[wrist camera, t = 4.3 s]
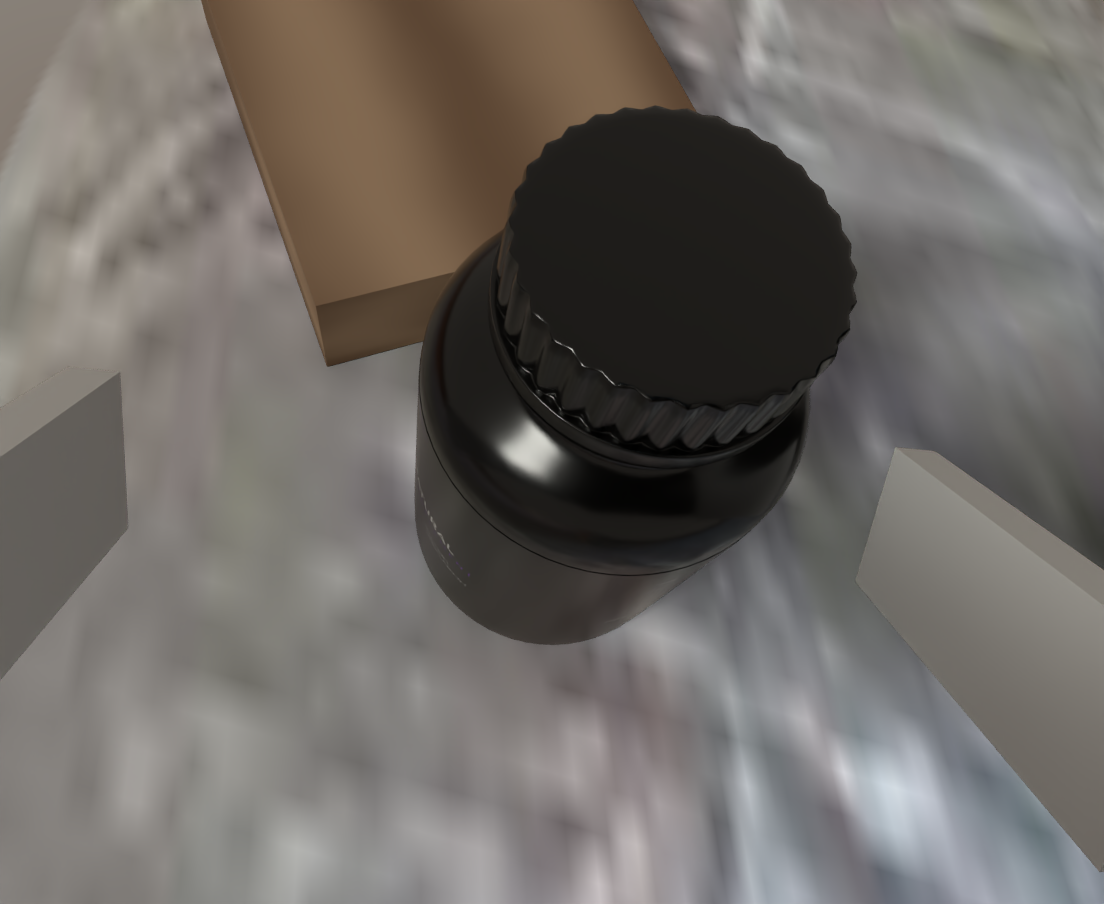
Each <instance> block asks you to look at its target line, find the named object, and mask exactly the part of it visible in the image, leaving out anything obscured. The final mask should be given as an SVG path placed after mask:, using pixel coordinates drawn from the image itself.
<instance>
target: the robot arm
mask: <svg viewBox="0 0 1104 904" xmlns="http://www.w3.org/2000/svg"><path fill="white" fill-rule="evenodd" d="M127 529H128V511H127V492H126V473H125V454H124V435H123V416H122V397H121V378H120V372H119V371H109V370H99V369H89V368H79V367H67V368H65V369H64V370H62V371H60V372H59V373H57V374H55V375H54V376H52V377H50V378H49V379H47V380H45V381H44V382H42V383H40V384H39V385H37V386H36V387H34V388H32V389H31V390H29V391H27V392H26V393H24V394H22V395H21V396H19V397H17V398H16V399H14V400H13V401H11V402H9V403H8V404H6V405H4V406H3V407H1V408H0V680H1V679H2V678H3V676H4V675H5V674H6V673H7V672H8V670H9V669H10V668H11V667H12V666H13V664H14V663H15V662H16V661H17V660H18V659H19V657H20V656H21V655H22V654H23V653H24V651H25V650H26V649H27V648H28V647H29V645H30V644H31V643H32V642H33V641H34V639H35V638H36V637H37V636H38V635H39V634H40V632H41V631H42V630H43V629H44V628H45V626H46V625H47V624H48V623H49V622H50V620H51V619H52V618H53V617H54V616H55V615H56V613H57V612H58V611H59V610H60V609H61V607H62V606H63V605H64V604H65V603H66V601H67V600H68V599H69V598H70V597H71V595H72V594H73V593H74V592H75V591H76V590H77V588H78V587H79V586H80V585H81V584H82V582H83V581H84V580H85V579H86V578H87V576H88V575H89V574H90V573H91V572H92V571H93V569H94V568H95V567H96V566H97V565H98V563H99V562H100V561H101V560H102V559H103V557H104V556H105V555H106V554H107V553H108V551H109V550H110V549H111V548H112V547H113V546H114V544H115V543H116V542H117V541H118V540H119V538H120V537H121V536H122V535H123V534H124V532H125V531H126V530H127ZM855 582H856V583H857V585H858V586H859V587H860V588H861V589H862V590H863V592H864V593H865V594H866V595H867V596H868V598H869V599H870V600H871V601H872V602H873V604H874V605H875V606H876V607H877V608H878V609H879V611H880V612H881V613H882V614H883V615H884V617H885V618H886V619H887V620H888V621H889V623H890V624H891V625H892V626H893V627H894V628H895V630H896V631H897V632H898V633H899V634H900V636H901V637H902V638H903V639H904V640H905V642H906V643H907V644H908V645H909V646H910V647H911V649H912V650H913V651H914V652H915V653H916V655H917V656H918V657H919V658H920V659H921V661H922V662H923V663H924V664H925V665H926V666H927V668H928V669H929V670H930V671H931V672H932V674H933V675H934V676H935V677H936V678H937V680H938V681H939V682H940V683H941V684H942V685H943V687H944V688H945V689H946V690H947V691H948V693H949V694H950V695H951V696H952V697H953V699H954V700H955V701H956V702H957V703H958V704H959V706H960V707H961V708H962V709H963V710H964V712H965V713H966V714H967V715H968V716H969V718H970V719H971V720H972V721H973V722H974V723H975V725H976V726H977V727H978V728H979V729H980V731H981V732H982V733H983V734H984V735H985V737H986V738H987V739H988V740H989V741H990V742H991V744H992V745H993V746H994V747H995V748H996V750H997V751H998V752H999V753H1000V754H1001V756H1002V757H1003V758H1004V759H1005V760H1006V761H1007V763H1008V764H1009V765H1010V766H1011V767H1012V769H1013V770H1014V771H1015V772H1016V773H1017V775H1018V776H1019V777H1020V778H1021V779H1022V780H1023V782H1024V783H1025V784H1026V785H1027V786H1028V788H1029V789H1030V790H1031V791H1032V792H1033V794H1034V795H1035V796H1036V797H1037V798H1038V799H1039V801H1040V802H1041V803H1042V804H1043V805H1044V807H1045V808H1046V809H1047V810H1048V811H1049V813H1050V814H1051V815H1052V816H1053V817H1054V818H1055V820H1056V821H1057V822H1058V823H1059V824H1060V826H1061V827H1062V828H1063V829H1064V830H1065V832H1066V833H1067V834H1068V835H1069V836H1070V837H1071V839H1072V840H1073V841H1074V842H1075V843H1076V845H1077V846H1078V847H1079V848H1080V849H1081V850H1082V852H1083V853H1084V854H1085V855H1086V856H1087V858H1088V859H1089V860H1090V861H1091V862H1092V864H1093V865H1094V866H1095V867H1096V868H1097V869H1098V871H1099V872H1104V570H1103V569H1101V568H1100V567H1099V566H1097V565H1096V564H1094V563H1093V562H1092V561H1090V560H1089V559H1087V558H1086V557H1084V556H1083V555H1082V554H1080V553H1079V552H1077V551H1076V550H1074V549H1073V548H1072V547H1070V546H1069V545H1067V544H1066V543H1065V542H1063V541H1062V540H1060V539H1059V538H1057V537H1056V536H1055V535H1053V534H1052V533H1050V532H1049V531H1048V530H1046V529H1045V528H1043V527H1042V526H1040V525H1039V524H1038V523H1036V522H1035V521H1033V520H1032V519H1030V518H1029V517H1028V516H1026V515H1025V514H1023V513H1022V512H1021V511H1019V510H1018V509H1016V508H1015V507H1013V506H1012V505H1011V504H1009V503H1008V502H1006V501H1005V500H1003V499H1002V498H1001V497H999V496H998V495H996V494H995V493H994V492H992V491H991V490H989V489H988V488H986V487H985V486H984V485H982V484H981V483H979V482H978V481H977V480H975V479H974V478H972V477H971V476H969V475H968V474H967V473H965V472H964V471H962V470H961V469H959V468H958V467H957V466H955V465H954V464H952V463H951V462H950V461H948V460H947V459H945V458H944V457H942V456H941V455H940V454H938V453H937V452H935V451H928V450H918V449H907V448H897V447H895V450H894V453H893V457H892V460H891V463H890V467H889V470H888V473H887V477H886V480H885V483H884V487H883V490H882V493H881V497H880V500H879V503H878V507H877V510H876V513H875V517H874V520H873V523H872V527H871V530H870V533H869V537H868V540H867V543H866V547H865V550H864V553H863V557H862V560H861V563H860V567H859V570H858V573H857V577H856V580H855Z"/></svg>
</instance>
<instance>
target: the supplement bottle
mask: <svg viewBox="0 0 1104 904" xmlns="http://www.w3.org/2000/svg"><path fill="white" fill-rule="evenodd" d="M850 256H851V243H850V241H849V240H848V238H847V236H846V235H845V234H844V232H843V231H842V227H841V219H840V216H839V214H838V213H837V212H836V211H835V210H834V209H833V208H832V207H831V206H830V205H829V204H828V201H827V198H826V195H825V192H824V190H823V189H822V188H821V187H820V186H818V185H817V184H816V183H814V182H813V181H812V180H810V178H809V177H808V175H807V173H806V171H805V170H804V168H803V167H802V166H801V165H800V164H798V163H796V162H794V161H793V160H791V159H789V158H787V157H786V156H785V155H784V154H783V152H782V151H781V150H780V149H779V148H778V146H776V145H774V144H771V143H769V142H766V141H763V140H761V139H760V138H759V137H758V136H756V135H755V134H754V133H753V132H752V131H751V130H749V129H747V128H743V127H738V126H733V125H731V124H730V123H728V122H727V121H725V120H724V119H722V118H720V117H719V116H706V115H701V114H699V113H696V112H695V111H692V110H690V109H688V108H687V109H676V110H671V109H667V108H664V107H661V106H657V105H655V106H651V107H647V108H644V109H636V108H628V107H624V108H622V109H620V110H618V111H616V112H615V113H613V114H595V115H594V116H593V117H591V118H590V119H589V120H588V121H587V122H586V123H584V124H580V125H573V126H569V127H568V128H567V129H566V131H565V132H564V134H563V135H562V137H561V138H559V139H556V140H553V141H550V142H548V143H546V144H545V146H544V148H543V150H542V152H541V155H540V157H539V158H537V159H535V160H534V161H532V162H531V163H530V164H528V165H527V167H526V169H525V171H524V173H523V177H522V182H521V184H520V185H519V186H518V188H517V189H516V190H515V191H514V193H513V195H512V197H511V200H510V204H509V209H508V215H507V220H506V225H505V227H504V229H503V230H501V231H500V232H498V233H497V234H495V235H494V236H492V237H491V238H490V239H488V240H487V241H485V242H484V243H483V244H482V245H480V246H479V247H478V248H477V249H476V250H475V251H473V252H472V253H471V254H470V255H469V256H468V257H467V258H466V259H465V261H464V262H463V263H462V264H461V265H460V266H459V267H458V268H457V270H456V271H455V272H454V274H453V275H452V276H451V278H450V279H449V280H448V282H447V283H446V285H445V287H444V289H443V290H442V292H441V294H440V295H439V297H438V299H437V301H436V303H435V306H434V308H433V310H432V312H431V315H430V318H429V321H428V324H427V328H426V331H425V336H424V341H423V346H422V352H421V358H420V369H419V382H418V410H417V440H416V469H415V521H416V529H417V535H418V539H419V543H420V547H421V550H422V553H423V556H424V558H425V561H426V563H427V565H428V567H429V570H430V572H431V573H432V575H433V577H434V578H435V580H436V582H437V584H438V585H439V586H440V588H441V589H442V590H443V592H444V593H445V594H446V595H447V597H448V598H449V599H450V600H451V601H452V602H453V603H454V604H455V605H456V606H457V607H458V608H459V609H460V610H461V611H463V612H464V613H465V614H466V615H467V616H469V617H470V618H472V619H473V620H474V621H476V622H477V623H479V624H481V625H482V626H484V627H486V628H487V629H489V630H491V631H494V632H496V633H498V634H500V635H503V636H506V637H508V638H511V639H514V640H519V641H523V642H527V643H534V644H544V645H560V644H570V643H576V642H582V641H585V640H589V639H592V638H596V637H598V636H601V635H603V634H606V633H608V632H610V631H612V630H614V629H616V628H618V627H620V626H621V625H623V624H624V623H626V622H628V621H629V620H631V619H632V618H634V617H635V616H637V615H638V614H640V613H641V612H643V611H644V610H645V609H647V608H648V607H649V606H651V605H652V604H653V603H655V602H656V601H658V600H659V599H660V598H662V597H663V596H664V595H666V594H667V593H668V592H670V591H671V590H673V589H674V588H675V587H677V586H678V585H679V584H681V583H682V582H683V581H685V580H686V579H688V578H689V577H690V576H692V575H693V574H694V573H696V572H697V571H698V570H700V569H701V568H702V567H704V566H705V565H707V564H708V563H709V562H711V561H712V560H713V559H715V558H716V557H717V556H719V555H720V554H722V553H723V552H724V551H726V550H727V549H728V548H730V547H731V546H732V545H734V544H735V543H736V542H737V541H739V540H740V539H741V538H742V537H743V536H745V535H746V534H747V533H748V532H750V531H751V530H752V529H753V528H754V527H755V526H756V525H757V524H758V523H759V522H760V521H761V520H762V519H763V518H764V517H765V516H766V515H767V514H768V513H769V512H770V511H771V510H772V508H773V507H774V506H775V504H776V503H777V502H778V500H779V499H780V498H781V496H782V495H783V493H784V492H785V490H786V488H787V487H788V485H789V483H790V482H791V480H792V478H793V475H794V473H795V471H796V469H797V467H798V464H799V462H800V459H801V456H802V453H803V450H804V447H805V442H806V438H807V433H808V427H809V418H810V386H811V385H812V384H813V382H814V381H815V380H816V379H817V378H818V377H819V376H820V375H821V374H822V373H823V372H824V371H825V370H826V369H827V368H828V367H829V365H830V364H831V363H832V362H833V360H834V359H835V357H836V354H837V350H838V345H839V344H840V343H841V342H842V341H843V340H844V339H845V337H846V336H847V334H848V333H849V331H850V320H849V314H850V313H851V311H852V310H853V308H854V307H855V305H856V303H857V300H856V295H855V292H854V289H853V284H854V282H855V279H856V276H857V271H856V269H855V266H854V265H853V263H852V261H851V258H850Z"/></svg>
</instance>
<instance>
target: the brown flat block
mask: <svg viewBox="0 0 1104 904" xmlns="http://www.w3.org/2000/svg"><path fill="white" fill-rule="evenodd" d="M201 1H202V5H203V9H204V13H205V16H206V20H207V23H208V26H209V29H210V32H211V35H212V38H213V40H214V43H215V46H216V49H217V52H218V55H219V58H220V60H221V63H222V66H223V69H224V72H225V75H226V78H227V81H228V83H229V86H230V89H231V92H232V95H233V98H234V101H235V104H236V106H237V109H238V112H239V115H240V118H241V121H242V124H243V126H244V129H245V132H246V135H247V138H248V141H249V144H250V147H251V149H252V152H253V155H254V158H255V161H256V164H257V167H258V170H259V172H260V175H261V178H262V181H263V184H264V187H265V190H266V192H267V195H268V198H269V201H270V204H271V207H272V210H273V213H274V215H275V218H276V221H277V224H278V227H279V230H280V233H281V236H282V238H283V241H284V244H285V247H286V250H287V253H288V256H289V258H290V261H291V264H292V267H293V270H294V273H295V276H296V279H297V281H298V284H299V287H300V290H301V293H302V296H303V299H304V302H305V304H306V307H307V310H308V313H309V316H310V319H311V322H312V325H313V327H314V330H315V333H316V336H317V339H318V342H319V345H320V347H321V350H322V353H323V356H324V359H325V362H326V365H327V367H328V366H332V365H335V364H339V363H343V362H347V361H350V360H354V359H358V358H361V357H365V356H369V355H373V354H376V353H380V352H384V351H388V350H391V349H395V348H399V347H402V346H406V345H410V344H414V343H417V342H421V341H424V336H425V331H426V328H427V324H428V321H429V318H430V315H431V312H432V310H433V308H434V306H435V303H436V301H437V299H438V297H439V295H440V294H441V292H442V290H443V289H444V287H445V285H446V283H447V282H448V280H449V279H450V278H451V276H452V275H453V274H454V272H455V271H456V270H457V268H458V267H459V266H460V265H461V264H462V263H463V262H464V261H465V259H466V258H467V257H468V256H469V255H470V254H471V253H472V252H473V251H475V250H476V249H477V248H478V247H479V246H480V245H482V244H483V243H484V242H485V241H487V240H488V239H490V238H491V237H492V236H494V235H495V234H497V233H498V232H500V231H501V230H503V229H504V227H505V225H506V220H507V215H508V209H509V204H510V200H511V197H512V195H513V193H514V191H515V190H516V189H517V188H518V186H519V185H520V184H521V182H522V177H523V173H524V171H525V169H526V167H527V165H528V164H530V163H531V162H532V161H534V160H535V159H537V158H539V157H540V155H541V152H542V150H543V148H544V146H545V144H546V143H548V142H550V141H553V140H556V139H559V138H561V137H562V135H563V134H564V132H565V131H566V129H567V128H568V127H569V126H573V125H580V124H584V123H586V122H587V121H588V120H589V119H590V118H591V117H593V116H594V115H595V114H613V113H615V112H616V111H618V110H620V109H622V108H624V107H628V108H636V109H644V108H647V107H651V106H655V105H657V106H661V107H664V108H667V109H671V110H676V109H687V108H688V109H690V110H692V111H695V112H696V110H695V109H694V107H693V105H692V103H691V102H690V100H689V98H688V96H687V95H686V93H685V91H684V89H683V88H682V86H681V84H680V82H679V81H678V79H677V77H676V75H675V74H674V72H673V70H672V68H671V67H670V65H669V63H668V61H667V60H666V58H665V56H664V54H663V53H662V51H661V49H660V47H659V46H658V44H657V42H656V40H655V39H654V37H653V35H652V33H651V32H650V30H649V28H648V26H647V25H646V23H645V21H644V19H643V18H642V16H641V14H640V12H639V11H638V9H637V7H636V5H635V4H634V2H633V0H201ZM696 113H697V112H696Z"/></svg>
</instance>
